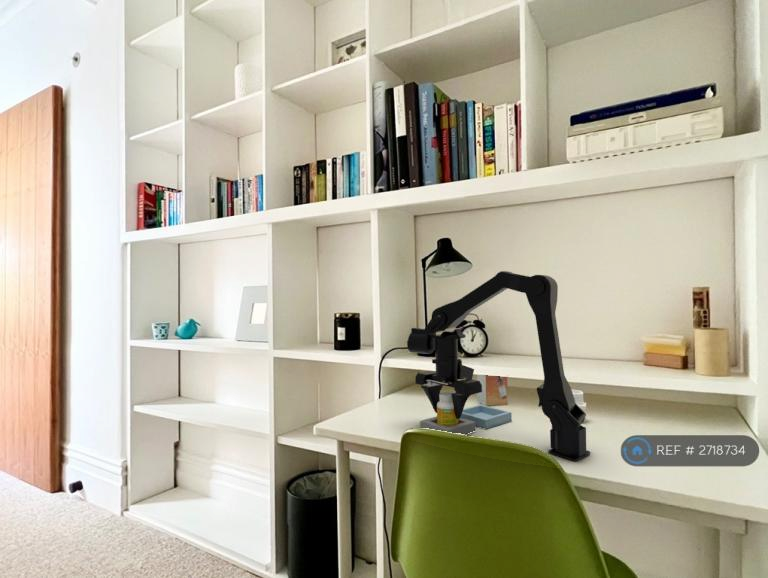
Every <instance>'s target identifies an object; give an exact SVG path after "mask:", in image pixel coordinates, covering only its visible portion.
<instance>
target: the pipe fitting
mask: <svg viewBox="0 0 768 578" xmlns="http://www.w3.org/2000/svg"><path fill="white" fill-rule="evenodd" d="M571 390H572V393H573V396H574V399H575V403H576V404H577V405H578V406H579V407H580V408H581V409H582V410H583V411H584V410H587V409H586V408H587V402H584V392H583V391H582V390H578V389H571Z"/></svg>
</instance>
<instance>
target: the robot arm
mask: <svg viewBox="0 0 768 578" xmlns="http://www.w3.org/2000/svg"><path fill="white" fill-rule="evenodd" d="M495 274H496V275H494V276H493V277H491V278H490V279H488V280H487V281H485V282H484V283H482V284H481V285H479V286H477V287H476V288H474V289H473V290H471V291H469V293H468V294H465V295H464V296H462V297H461V298H459V299H457V300H455V301H452V302H450V303H446V304H443V305H442V306H439V307H437V308H435V309H434V310H433V311H432V313H431V319H430V320H429V322H428V324H427V325H426V326H425V328H420V327H412V328H410V329H411V332H410V333H409V335H408V337H407V342H406V344H407V346H406V347H407V350H408V352H410V353H412V354H414V353H415V354H427V355H431V354H433V352H435V358H433V359H431V364H433V365H434V364H435V371H431V370H426V371H421V372H417V374H416V375H415V380H414V381H415V384H416V385H420V388H421V389H422V390H423V391H424V393H425V395H426V396H427V399H428V400H429V402H430V404H431V406H432V409H433V410H434V413H436V414H437V403H438V402H439V401H440V398H439V394H440V393H441V390H442V389H443V387H444V386H445V387H451V388H453V389H454V391H455V392H451V395H452V401H453V406H454V412H455V416H456V419H460V418H461V415H462V412H463V409H465V406H466V403H467V401H468V399H469V397H471V396H472V395H476V394H478V393H480V392H482V384H481V383H480V381H478V380H477V379H474V372H475V368H472V367H469V366H466V365H464V364H463V362H462V361H463V360H462V358H459V357H458V356H459V354H458V353H459V351H458V350H459V349H458V348H459V347H458V345H459V344H458V340H460V339H465V338H466V335H465V334H464V333H463V332H462V331H461V330H460V328H457V327H458V326H460V324H461V323H462V322H464V320H465V319H466V318H467V317H468V316H469V314H471V312H473V311H474V310H476V309H477V308H479V307H481V306H482V305H483V304H485V303H487V302H488V301H490V300H491V299H493V298H495V297H496V296H498V295H500V294H501V293H503V292H504V291H506V290H507V289H509V290H512V291H514V292H519V293H523V294H525V295H526V298H527V299H526V300H527V301H528V305H529V307H530V308H531V310H532V312H533V314H534V316H535V322H536V329H537V330H536V331H537V336H538V342H539V343H538V344H539V351H540V357H541V362H542V370H543V379H544V380H543V383H542V384H540V385H539V386H537V387H536V392H537V393H536V394H537V396H538V406H537V407H538V408H539V407H541V410H542V413H543V414H544V416H546V418H548V419H549V422H550V424H551V429H550V430H549V433H550V435H549V437H550V439H549V440H550V444H549V445H550V449H549V450H548V453H549V454H550V455H553V456H554V455H555V456H558V457H562V458H564V459H568V460H571V461H573V462H577V461H579V460H582V459H583V458H585V457H588V456H590V455H591V451H589V450H587V426H583V425H582V424H583V423H584V422H585V419H586V416H587V414H586V412H585V410H584V409H583V410H582V409H581V408H580V407H579V406H578V405H577V404H576V403H575V399H574V396H573V393H572V390H573V389H572V388H571V385H570V384H569V382H568V380H567V377H566V376H565V371H564V364H563V363H564V362H563V356H562V351H561V344H560V343H561V342H560V337H559V331H558V325H557V317H556V310H557V305H558V290H559V289H558V288H559V287H558V283H557V281H556V280H555V279H554V278H553V277H551V276H550V275H545V274H534V275H532V276H528V275H525V274H519V273H514V272H512V271H508V270H501V271H499V272H497V273H495ZM448 329H454V330H453V331H447V330H448ZM437 333H440V334H437Z"/></svg>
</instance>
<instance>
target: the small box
mask: <svg viewBox="0 0 768 578" xmlns="http://www.w3.org/2000/svg"><path fill="white" fill-rule="evenodd" d="M476 377H477V379H476V380H478V381H480V383H481V384H482V392H480V393H477V403H478V402H479V404H480V405H484V406H488V407H491V406H503V405H504V406H505V405H508V403H509V402H508V400H509V399H508V394H509V393H508V376H507V377H500V376H488V375H477V374H476Z"/></svg>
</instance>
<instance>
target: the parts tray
mask: <svg viewBox="0 0 768 578" xmlns="http://www.w3.org/2000/svg"><path fill="white" fill-rule="evenodd" d="M512 415H513V414H512V412H511V411H508V410H504V409H500V408H495V407H492V406H485V405H483V404H476V405H472V406H468V407H464V409H463V412H462V415H461V418H463V419H466V420H470V421H473V422H475V427H476V426H477V428H479V427H481V428H480V429H482V428H485V429H484V430H489V429H491V428H496V427H498V426H501V425H505V424H507V423H511V422H512V419H513V418H512ZM495 426H496V427H495ZM488 428H489V429H488Z"/></svg>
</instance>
